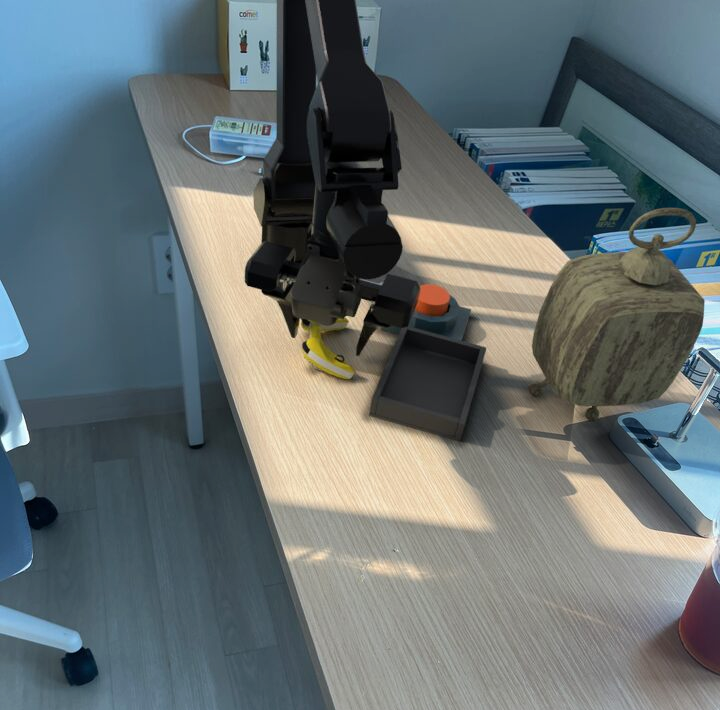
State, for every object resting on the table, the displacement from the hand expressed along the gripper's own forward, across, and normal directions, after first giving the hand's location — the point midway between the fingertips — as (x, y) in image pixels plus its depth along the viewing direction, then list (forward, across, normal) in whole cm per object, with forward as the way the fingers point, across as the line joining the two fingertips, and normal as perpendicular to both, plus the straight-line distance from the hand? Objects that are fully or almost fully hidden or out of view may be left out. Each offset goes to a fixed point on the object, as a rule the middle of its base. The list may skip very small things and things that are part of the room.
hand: (326, 345), depth 89 cm
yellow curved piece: (+1, 0, 0) cm, 1 cm away
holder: (+1, +13, -2) cm, 13 cm away
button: (-2, +10, +11) cm, 15 cm away
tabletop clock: (+1, +31, +3) cm, 31 cm away
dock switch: (+1, +10, +11) cm, 15 cm away
